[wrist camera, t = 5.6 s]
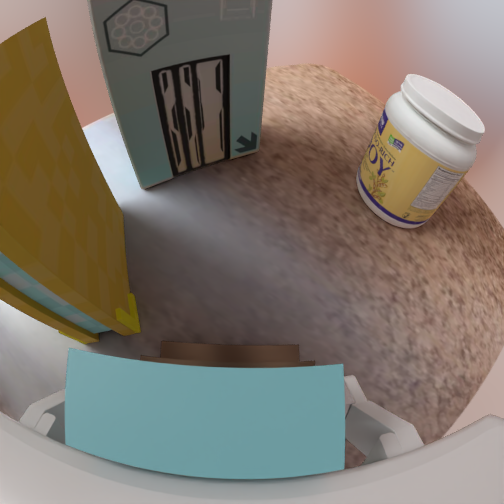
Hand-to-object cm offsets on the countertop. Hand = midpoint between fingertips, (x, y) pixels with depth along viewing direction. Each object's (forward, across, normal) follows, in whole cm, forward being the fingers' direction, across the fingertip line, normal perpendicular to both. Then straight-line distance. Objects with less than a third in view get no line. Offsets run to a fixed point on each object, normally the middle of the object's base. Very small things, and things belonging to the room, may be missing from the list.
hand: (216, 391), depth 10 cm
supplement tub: (+26, -22, -6) cm, 35 cm away
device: (+30, +6, -10) cm, 33 cm away
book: (+18, +14, +2) cm, 23 cm away
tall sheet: (+8, 0, +9) cm, 12 cm away
